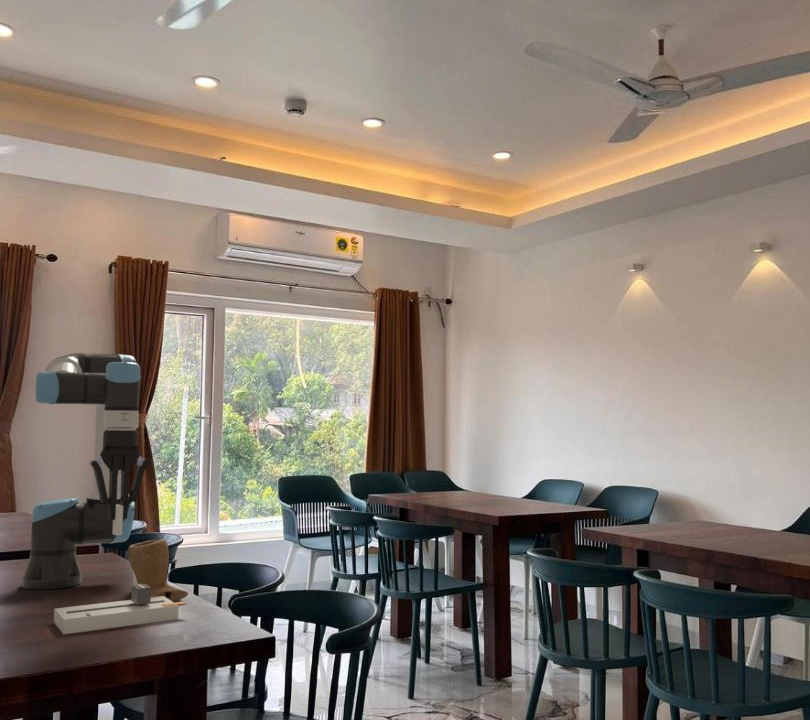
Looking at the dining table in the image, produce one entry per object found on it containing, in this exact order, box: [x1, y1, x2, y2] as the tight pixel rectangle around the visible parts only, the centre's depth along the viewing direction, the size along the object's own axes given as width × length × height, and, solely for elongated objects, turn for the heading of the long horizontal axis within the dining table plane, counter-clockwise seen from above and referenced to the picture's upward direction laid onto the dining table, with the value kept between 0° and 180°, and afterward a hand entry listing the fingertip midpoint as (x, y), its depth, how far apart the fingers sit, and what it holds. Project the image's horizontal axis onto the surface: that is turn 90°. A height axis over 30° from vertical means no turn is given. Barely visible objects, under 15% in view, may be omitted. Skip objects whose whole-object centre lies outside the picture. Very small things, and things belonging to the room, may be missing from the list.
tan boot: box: [127, 538, 189, 603], centre depth 193 cm, size 15×12×15 cm
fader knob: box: [130, 584, 151, 605], centre depth 174 cm, size 5×3×4 cm, turn 34°
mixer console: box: [53, 596, 187, 635], centre depth 172 cm, size 12×26×3 cm, turn 124°
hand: (117, 534), depth 173 cm, fingers closed
